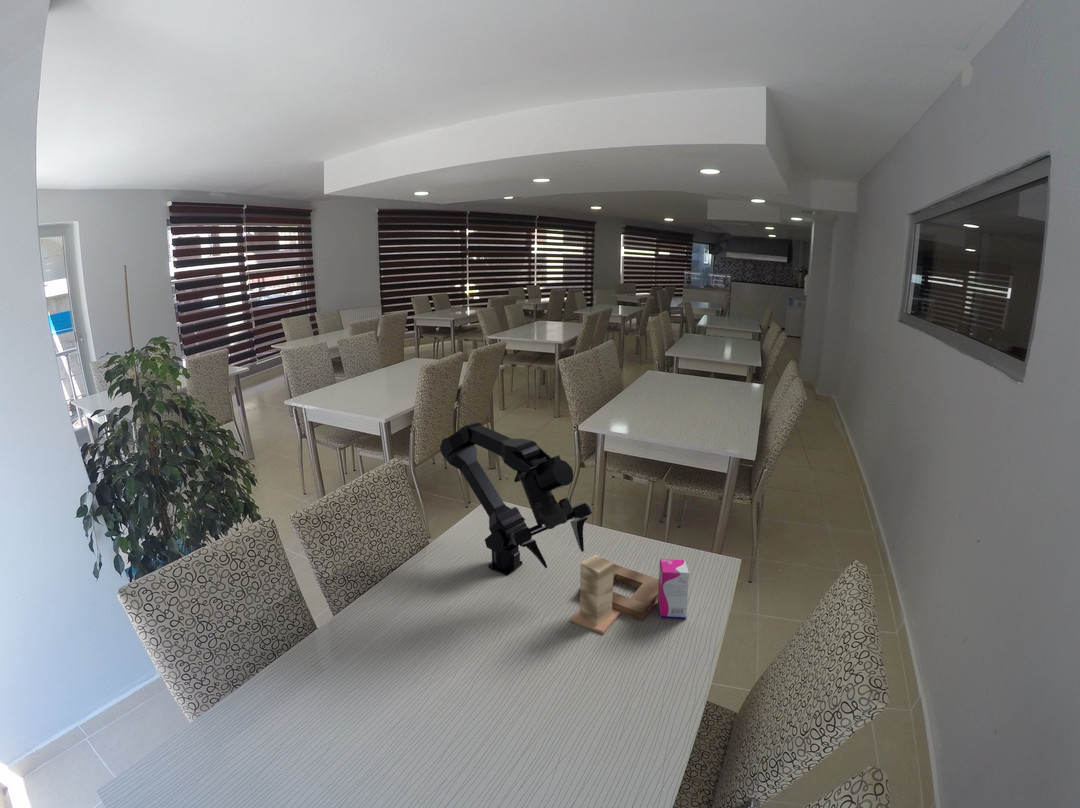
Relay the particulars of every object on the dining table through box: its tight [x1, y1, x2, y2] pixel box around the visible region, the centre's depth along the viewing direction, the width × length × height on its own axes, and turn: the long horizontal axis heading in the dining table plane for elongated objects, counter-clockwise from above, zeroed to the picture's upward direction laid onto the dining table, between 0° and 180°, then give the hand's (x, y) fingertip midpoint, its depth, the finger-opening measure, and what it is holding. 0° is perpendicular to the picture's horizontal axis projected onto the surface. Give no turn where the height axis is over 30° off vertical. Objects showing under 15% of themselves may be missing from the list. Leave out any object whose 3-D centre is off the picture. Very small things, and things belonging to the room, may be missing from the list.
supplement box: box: [657, 558, 690, 620], centre depth 126 cm, size 6×6×12 cm
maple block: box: [579, 554, 615, 625], centre depth 123 cm, size 5×5×13 cm
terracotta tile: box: [570, 608, 621, 635], centre depth 125 cm, size 8×8×1 cm
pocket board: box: [577, 563, 659, 622], centre depth 134 cm, size 16×14×2 cm
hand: (564, 559), depth 129 cm, fingers open, 9 cm apart
